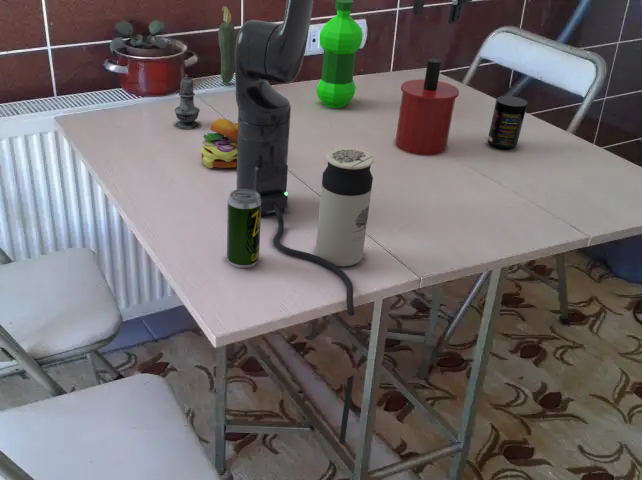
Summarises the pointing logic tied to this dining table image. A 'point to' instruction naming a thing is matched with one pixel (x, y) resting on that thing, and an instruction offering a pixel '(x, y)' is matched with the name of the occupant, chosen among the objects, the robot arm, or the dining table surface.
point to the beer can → (243, 228)
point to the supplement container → (506, 122)
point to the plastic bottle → (339, 56)
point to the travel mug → (344, 206)
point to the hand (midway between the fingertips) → (435, 18)
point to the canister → (424, 125)
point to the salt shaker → (187, 105)
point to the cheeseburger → (221, 145)
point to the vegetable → (227, 47)
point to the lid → (430, 85)
